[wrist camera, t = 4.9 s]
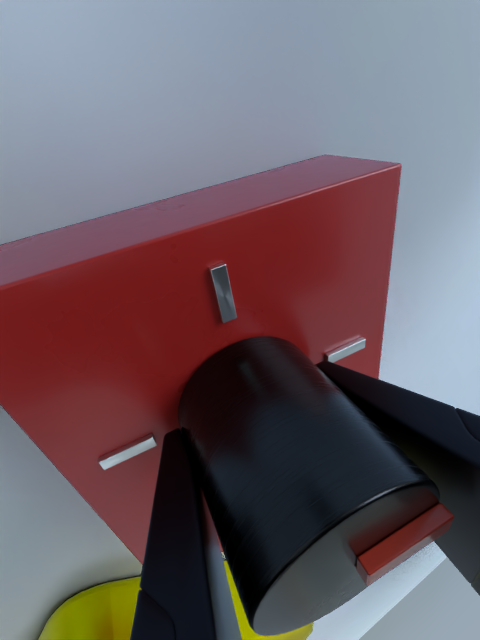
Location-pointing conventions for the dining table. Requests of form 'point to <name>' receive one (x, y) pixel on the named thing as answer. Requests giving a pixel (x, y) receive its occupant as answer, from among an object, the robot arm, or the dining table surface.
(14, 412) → the dial panel
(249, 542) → the knob
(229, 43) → the dining table surface
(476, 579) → the robot arm
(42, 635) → the element tile
